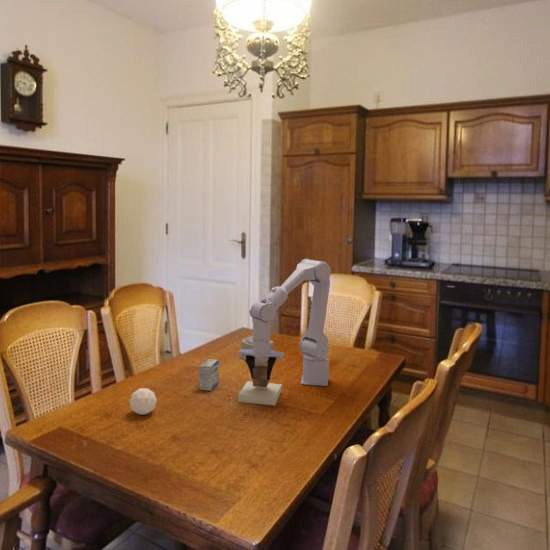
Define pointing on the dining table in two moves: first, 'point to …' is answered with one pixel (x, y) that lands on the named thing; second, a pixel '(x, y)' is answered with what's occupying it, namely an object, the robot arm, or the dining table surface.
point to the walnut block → (260, 375)
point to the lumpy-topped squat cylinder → (248, 344)
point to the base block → (260, 393)
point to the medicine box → (209, 374)
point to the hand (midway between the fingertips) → (260, 378)
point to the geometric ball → (143, 401)
